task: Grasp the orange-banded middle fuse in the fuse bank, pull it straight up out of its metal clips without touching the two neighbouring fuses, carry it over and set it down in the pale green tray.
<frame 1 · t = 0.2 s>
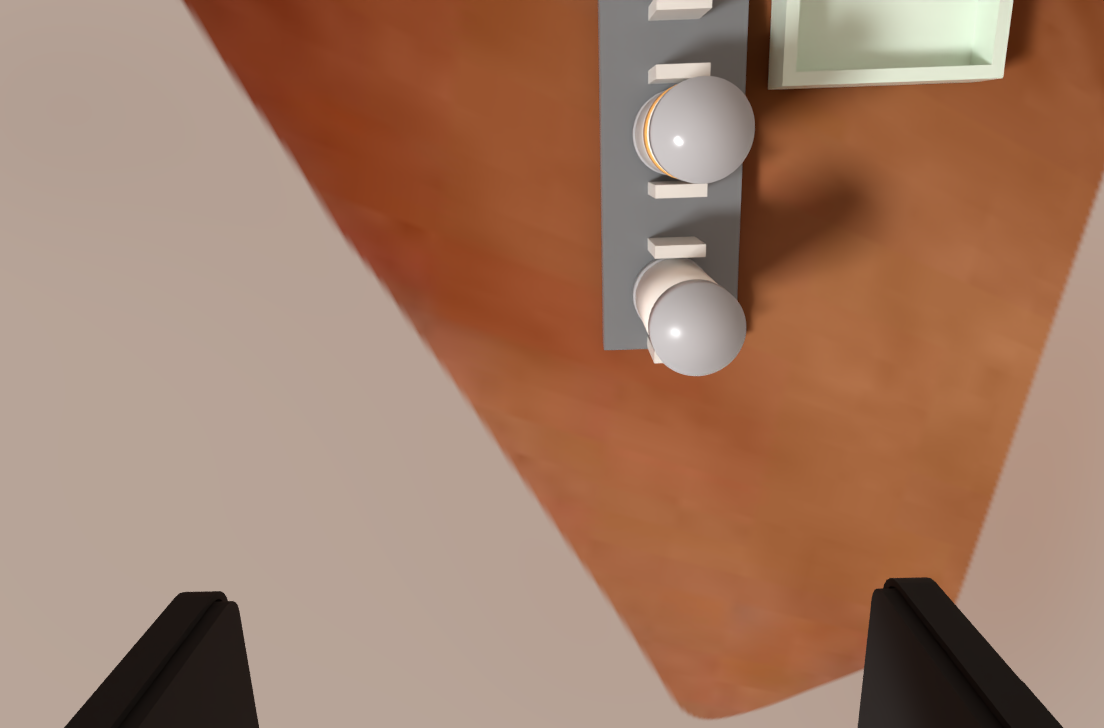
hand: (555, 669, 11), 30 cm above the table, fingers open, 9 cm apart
fuse bank: (668, 133, 37), on the table
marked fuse: (672, 132, 36), point 1 cm above the table, touching fuse bank
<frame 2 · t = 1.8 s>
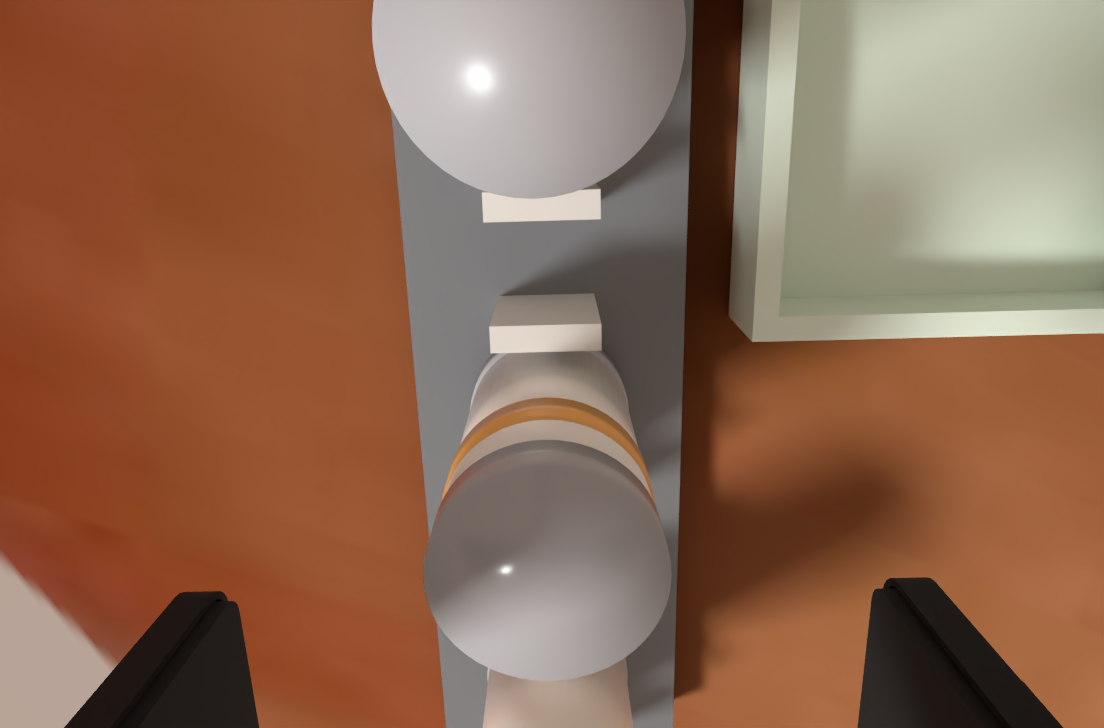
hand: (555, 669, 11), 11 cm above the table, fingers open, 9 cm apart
tray: (942, 112, 18), on the table
fuse bank: (549, 386, 21), on the table
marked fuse: (549, 402, 19), point 1 cm above the table, touching fuse bank
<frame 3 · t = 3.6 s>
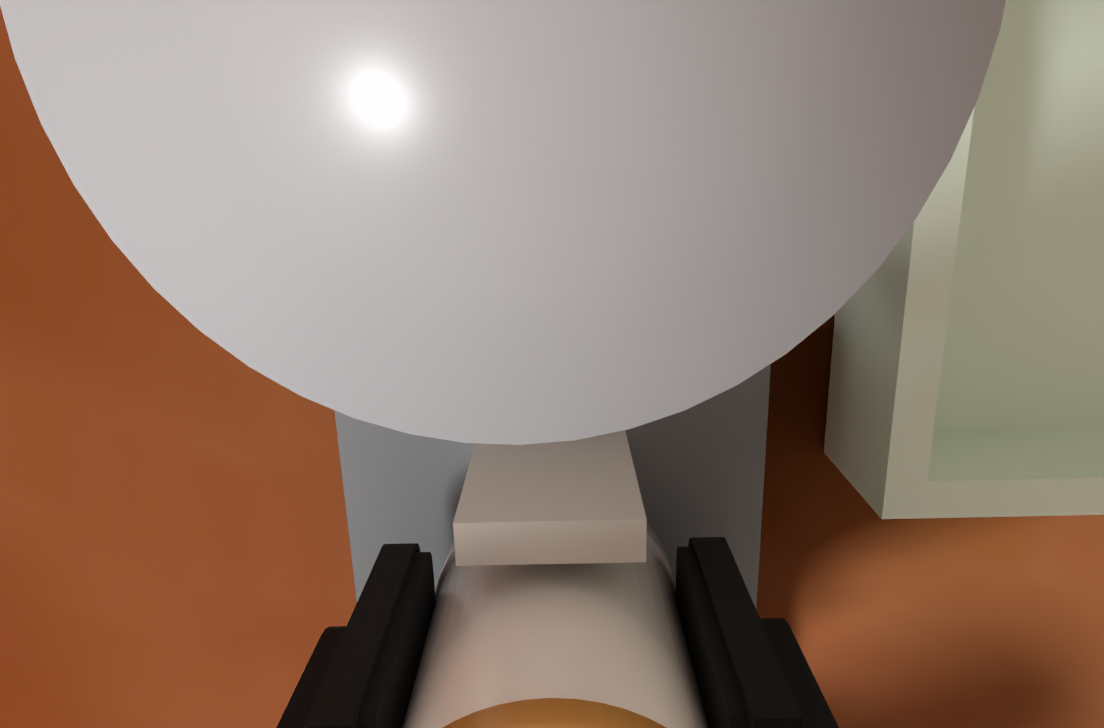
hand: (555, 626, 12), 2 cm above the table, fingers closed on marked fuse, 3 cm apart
fuse bank: (556, 551, 14), on the table
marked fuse: (556, 587, 13), point 1 cm above the table, touching fuse bank, gripper
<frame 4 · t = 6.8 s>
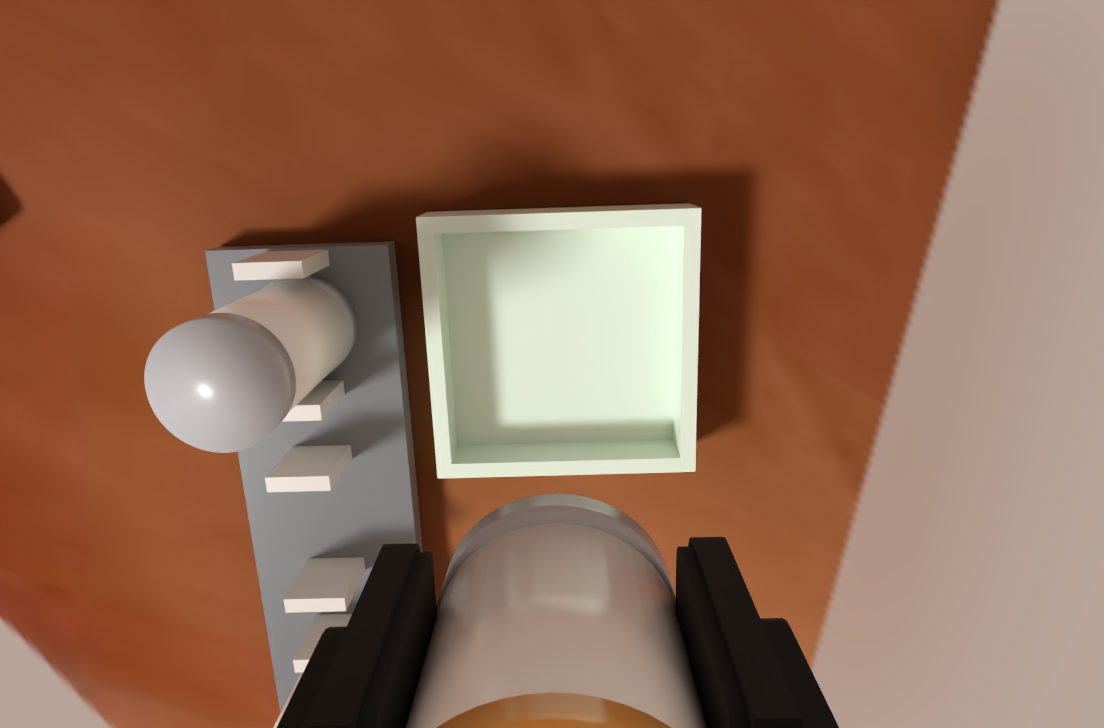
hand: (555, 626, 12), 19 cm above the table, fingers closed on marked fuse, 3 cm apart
tray: (561, 334, 30), on the table
fuse bank: (338, 496, 32), on the table
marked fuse: (557, 599, 13), point 18 cm above the table, touching gripper
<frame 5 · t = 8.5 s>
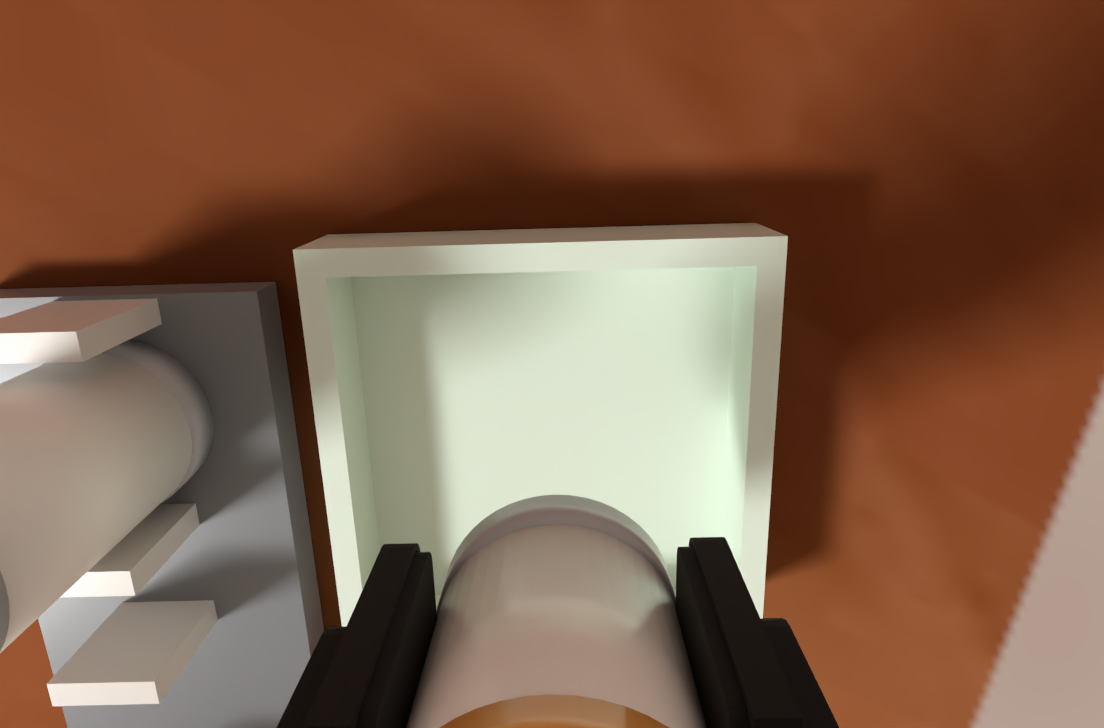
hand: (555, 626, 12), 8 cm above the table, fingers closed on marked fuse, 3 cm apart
tray: (547, 427, 19), on the table
fuse bank: (206, 663, 21), on the table
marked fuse: (558, 600, 13), point 7 cm above the table, touching gripper
when the fingers open (3 cm above the table, at t = 10.0 s): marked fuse drops 1 cm, resting on tray.
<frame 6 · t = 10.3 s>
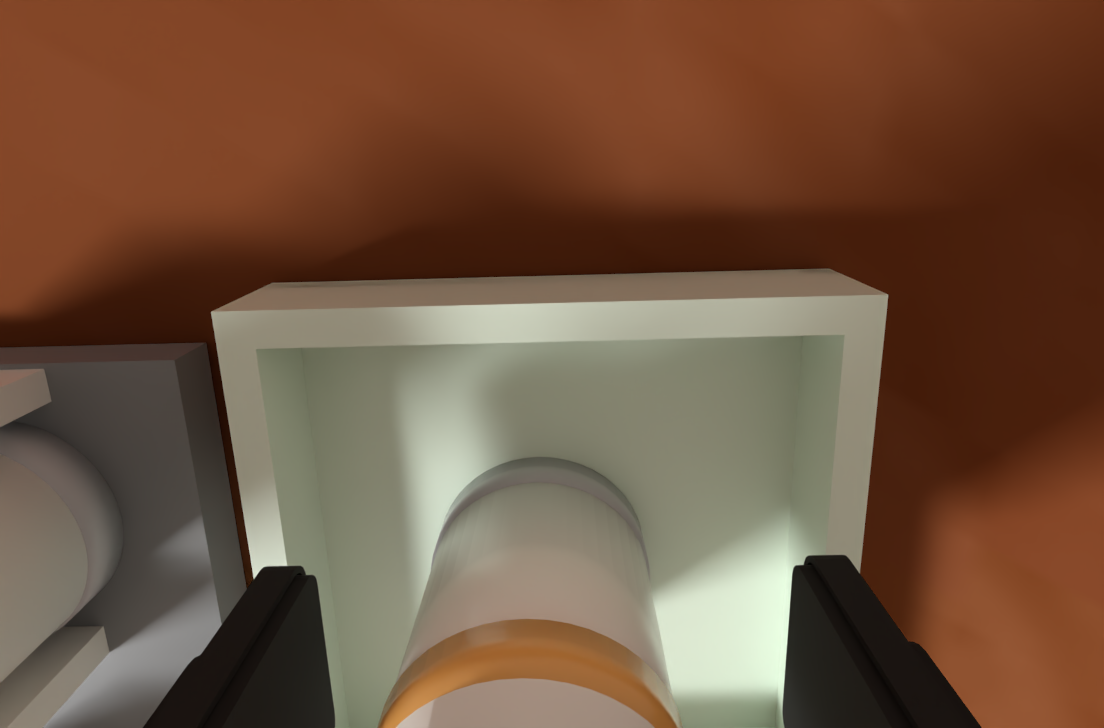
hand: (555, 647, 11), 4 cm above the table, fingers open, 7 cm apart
tray: (556, 525, 15), on the table
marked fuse: (541, 551, 14), point 1 cm above the table, touching tray
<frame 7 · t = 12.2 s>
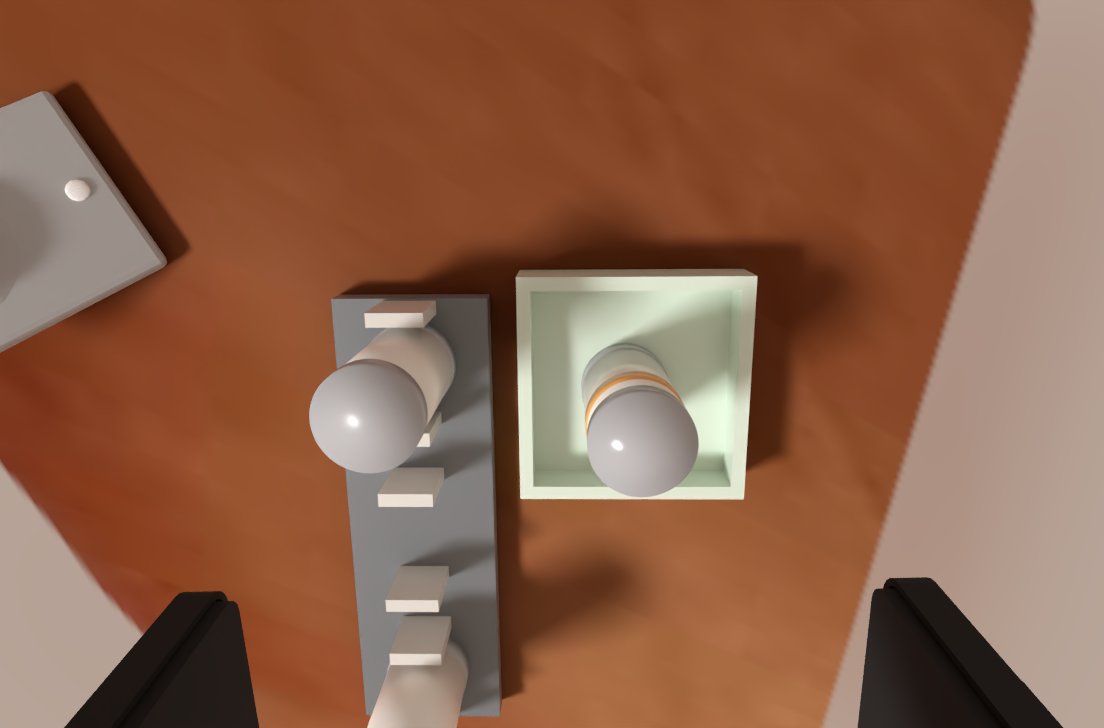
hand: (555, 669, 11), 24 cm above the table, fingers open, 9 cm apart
tray: (629, 377, 35), on the table
fuse bank: (426, 512, 37), on the table
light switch: (11, 249, 34), on the table
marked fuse: (624, 385, 34), point 1 cm above the table, touching tray
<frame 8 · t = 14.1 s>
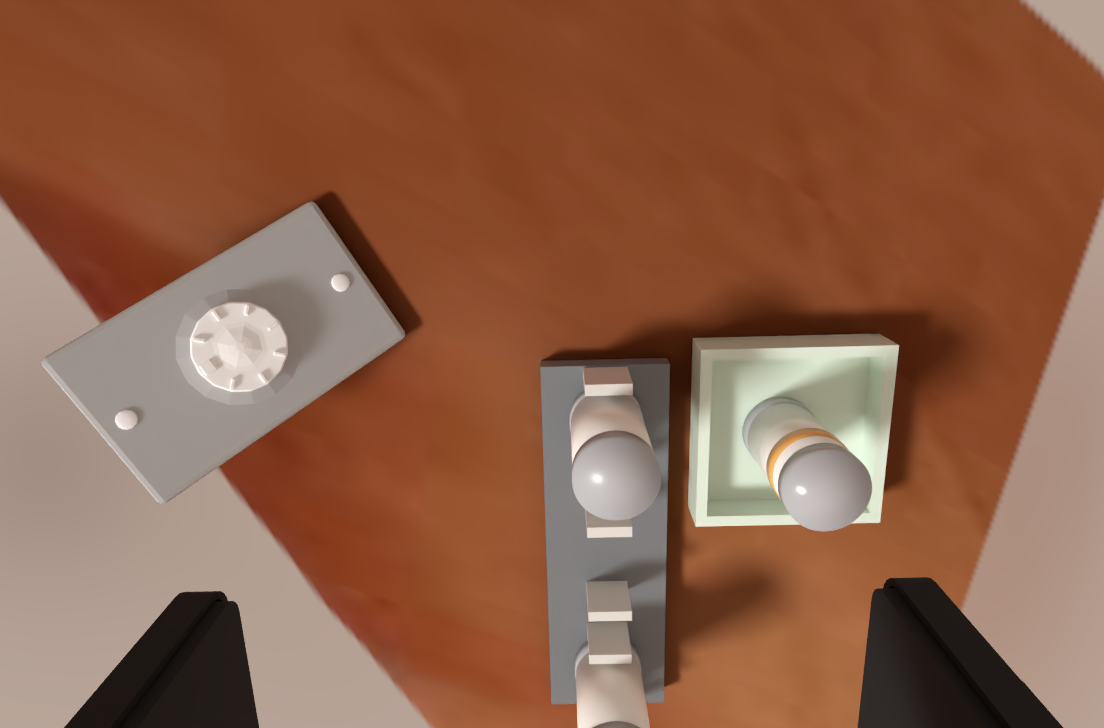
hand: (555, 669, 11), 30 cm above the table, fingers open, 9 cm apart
tray: (780, 422, 42), on the table
fuse bank: (605, 536, 44), on the table
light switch: (270, 328, 41), on the table
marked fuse: (777, 430, 41), point 1 cm above the table, touching tray
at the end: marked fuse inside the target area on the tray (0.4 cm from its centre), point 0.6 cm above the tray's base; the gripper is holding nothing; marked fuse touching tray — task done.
